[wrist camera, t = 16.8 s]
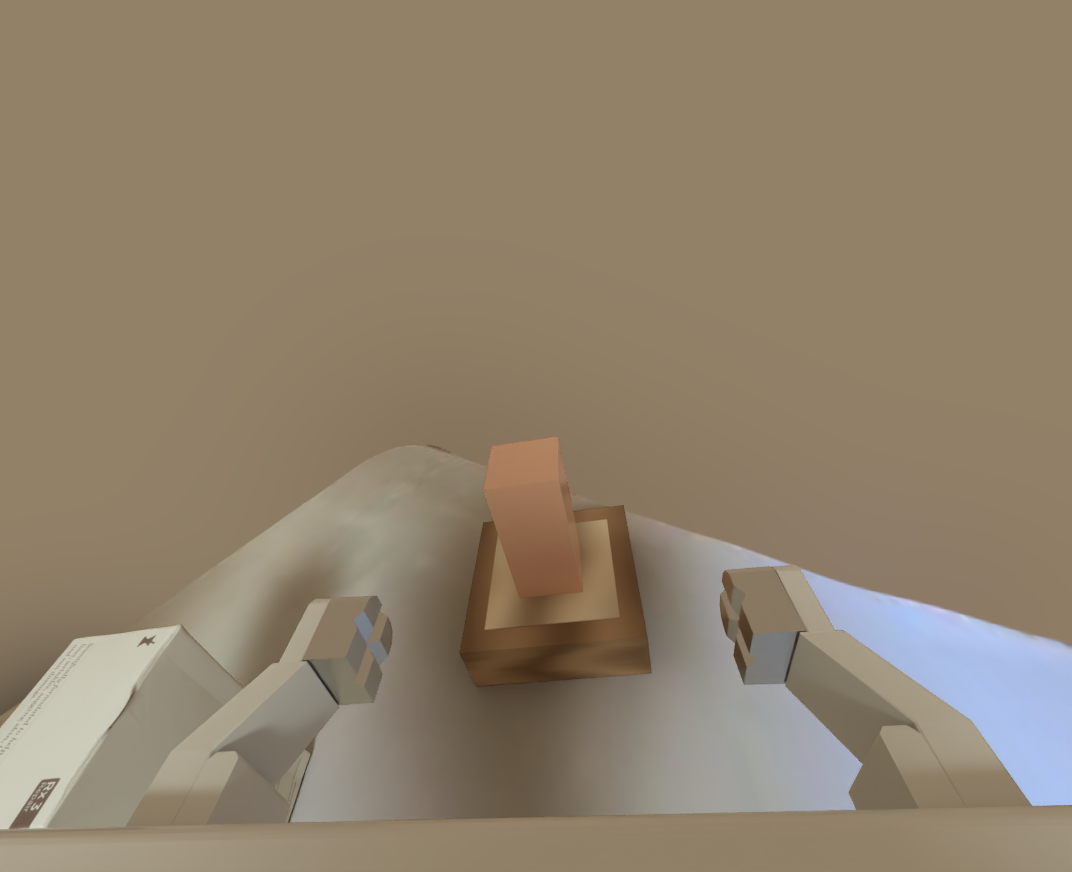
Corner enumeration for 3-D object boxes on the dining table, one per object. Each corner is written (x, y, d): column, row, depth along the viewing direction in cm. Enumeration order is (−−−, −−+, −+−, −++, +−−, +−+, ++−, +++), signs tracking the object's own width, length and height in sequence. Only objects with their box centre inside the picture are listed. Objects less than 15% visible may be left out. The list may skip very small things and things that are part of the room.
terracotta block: (519, 598, 33) (482, 489, 28) (523, 549, 37) (491, 446, 31) (583, 591, 32) (558, 479, 27) (580, 543, 36) (557, 436, 31)
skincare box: (234, 763, 31) (74, 629, 24) (319, 753, 31) (184, 612, 23) (150, 945, 24) (-119, 841, 16) (257, 936, 24) (33, 825, 16)
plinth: (475, 686, 33) (459, 652, 30) (494, 554, 43) (482, 521, 40) (651, 672, 31) (647, 635, 29) (627, 539, 41) (623, 504, 39)
